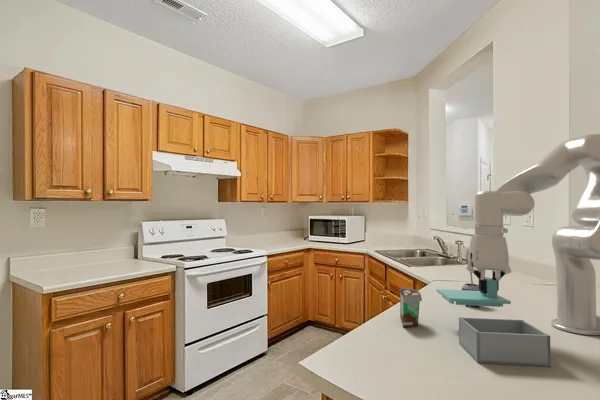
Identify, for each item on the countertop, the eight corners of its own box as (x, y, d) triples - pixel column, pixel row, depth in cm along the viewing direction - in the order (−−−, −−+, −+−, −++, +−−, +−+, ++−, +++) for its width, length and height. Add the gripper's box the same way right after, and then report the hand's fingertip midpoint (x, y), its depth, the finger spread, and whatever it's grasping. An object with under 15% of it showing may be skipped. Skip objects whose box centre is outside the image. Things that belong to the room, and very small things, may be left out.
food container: (424, 330, 102) (424, 296, 103) (403, 329, 104) (403, 295, 104) (419, 318, 114) (419, 288, 115) (399, 317, 116) (400, 287, 116)
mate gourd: (473, 309, 127) (472, 268, 128) (455, 303, 134) (455, 265, 135) (487, 307, 130) (486, 267, 131) (469, 302, 137) (469, 264, 138)
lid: (490, 297, 109) (490, 275, 109) (510, 308, 97) (510, 283, 97) (436, 295, 111) (436, 273, 111) (449, 305, 98) (449, 280, 99)
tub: (522, 346, 91) (521, 320, 91) (550, 366, 79) (550, 336, 79) (459, 343, 92) (459, 317, 93) (477, 362, 80) (477, 332, 81)
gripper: (510, 232, 107) (510, 291, 106) (456, 230, 109) (456, 289, 108) (523, 233, 99) (523, 297, 99) (465, 231, 101) (465, 294, 100)
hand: (488, 292), depth 103 cm, fingers closed on lid
